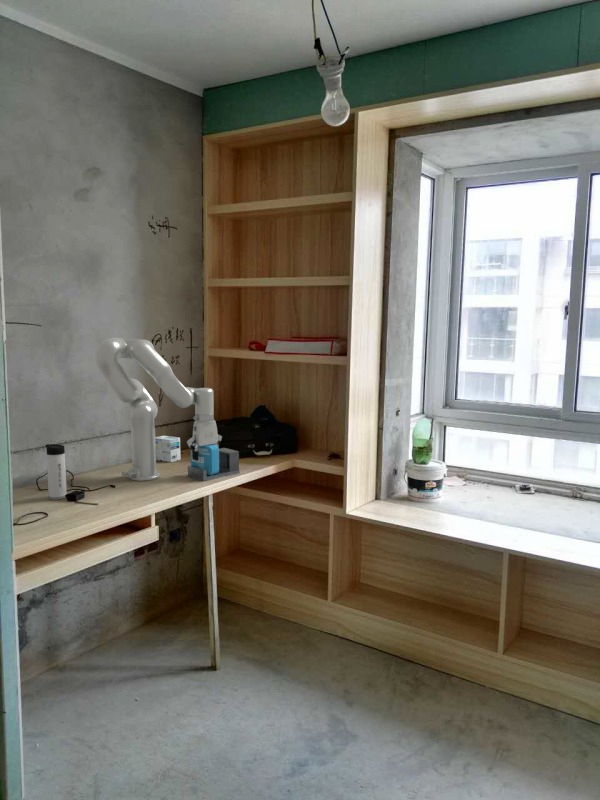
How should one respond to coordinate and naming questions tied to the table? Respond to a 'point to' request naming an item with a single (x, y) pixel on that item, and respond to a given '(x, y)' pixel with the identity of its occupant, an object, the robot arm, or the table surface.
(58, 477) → the travel mug
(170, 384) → the robot arm
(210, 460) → the data package
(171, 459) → the light bulb box
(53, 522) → the table surface
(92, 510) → the table surface
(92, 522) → the table surface
